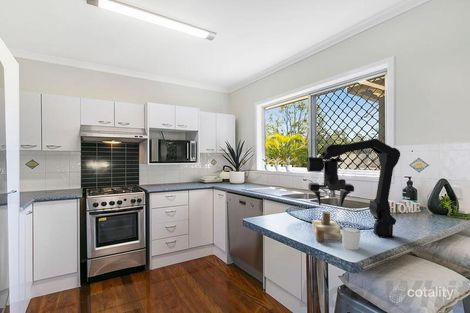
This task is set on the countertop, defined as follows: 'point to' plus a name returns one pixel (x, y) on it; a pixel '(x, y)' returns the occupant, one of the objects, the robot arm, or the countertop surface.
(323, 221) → the tall pin
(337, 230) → the hole block
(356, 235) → the white cylinder
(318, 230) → the short pin
